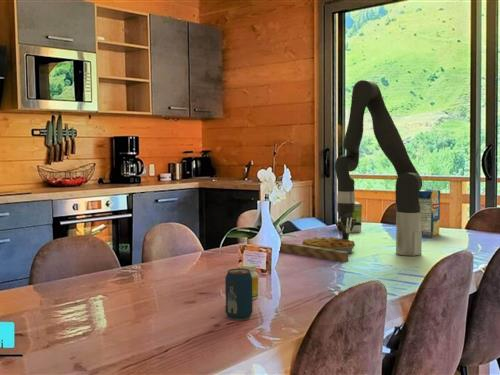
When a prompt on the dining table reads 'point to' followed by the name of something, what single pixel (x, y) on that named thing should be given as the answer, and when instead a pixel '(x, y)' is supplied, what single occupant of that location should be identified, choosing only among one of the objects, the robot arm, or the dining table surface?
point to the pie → (331, 243)
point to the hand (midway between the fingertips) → (345, 241)
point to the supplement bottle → (253, 279)
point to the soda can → (238, 294)
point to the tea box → (357, 217)
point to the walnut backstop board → (314, 251)
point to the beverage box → (429, 212)
